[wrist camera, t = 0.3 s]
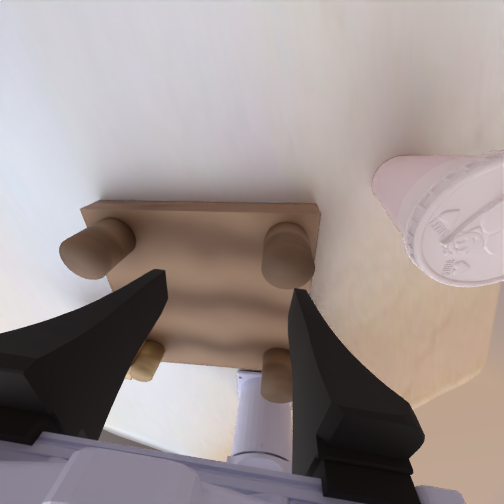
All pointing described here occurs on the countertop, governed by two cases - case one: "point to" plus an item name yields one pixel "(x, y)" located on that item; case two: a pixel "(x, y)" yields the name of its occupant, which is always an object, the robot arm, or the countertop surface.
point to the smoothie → (448, 214)
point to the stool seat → (209, 275)
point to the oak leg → (146, 362)
